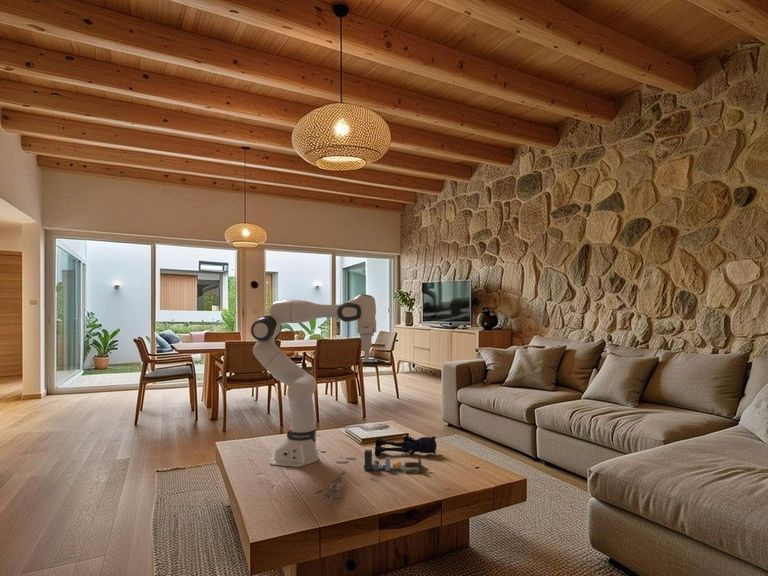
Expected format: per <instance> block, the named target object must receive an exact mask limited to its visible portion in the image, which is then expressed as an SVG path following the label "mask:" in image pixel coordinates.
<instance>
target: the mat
mask: <svg viewBox="0 0 768 576" xmlns="http://www.w3.org/2000/svg"><path fill="white" fill-rule="evenodd" d="M421 466H422V473H405V469H419V467H418V466H414V467H405V464H401V468H400V469H398V470H396V469H394V467H393V466H392V473H391V474H392V475H426V470H425V465H424V464H421Z"/></svg>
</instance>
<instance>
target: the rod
mask: <svg viewBox="0 0 768 576" xmlns="http://www.w3.org/2000/svg"><path fill="white" fill-rule="evenodd" d="M384 461H385V463H384V464H382V463H381V464H380V463H379V464H373V449H365V450H364V464H363V470H364V471H365V472H366V471H367V472H369V471H371V472H372V471H373V470H374V465H379V470H385V471H386V472H390V471H391V457H390V456H385V460H384Z"/></svg>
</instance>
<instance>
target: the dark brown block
mask: <svg viewBox="0 0 768 576" xmlns="http://www.w3.org/2000/svg"><path fill="white" fill-rule="evenodd" d="M374 464H380V460H374ZM379 471H380V469H379V465H374V469H373V473H379Z"/></svg>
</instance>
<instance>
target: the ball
mask: <svg viewBox="0 0 768 576" xmlns="http://www.w3.org/2000/svg"><path fill="white" fill-rule="evenodd" d="M401 465H402V464H401V462H400V461H397V460H395V461H394V462H393V463H392V468H393V467H394V469H396V470H398V469H400V468H401Z"/></svg>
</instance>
